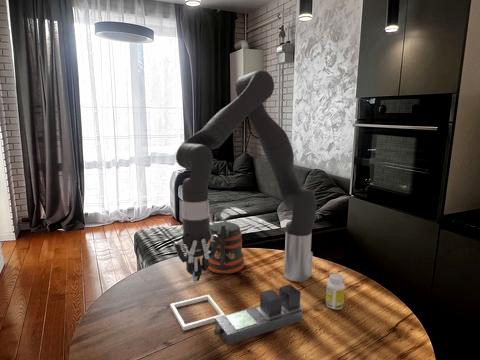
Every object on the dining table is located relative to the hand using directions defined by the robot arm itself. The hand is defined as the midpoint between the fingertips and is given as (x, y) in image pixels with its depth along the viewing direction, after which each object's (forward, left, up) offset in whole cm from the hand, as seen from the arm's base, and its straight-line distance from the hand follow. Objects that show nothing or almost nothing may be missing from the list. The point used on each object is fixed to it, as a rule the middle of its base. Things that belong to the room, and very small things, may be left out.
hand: (197, 271), depth 98 cm
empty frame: (0, 0, -13) cm, 13 cm away
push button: (0, 0, -2) cm, 3 cm away
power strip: (-14, +13, -13) cm, 23 cm away
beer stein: (-20, -23, -14) cm, 33 cm away
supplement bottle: (-40, +15, -14) cm, 45 cm away
